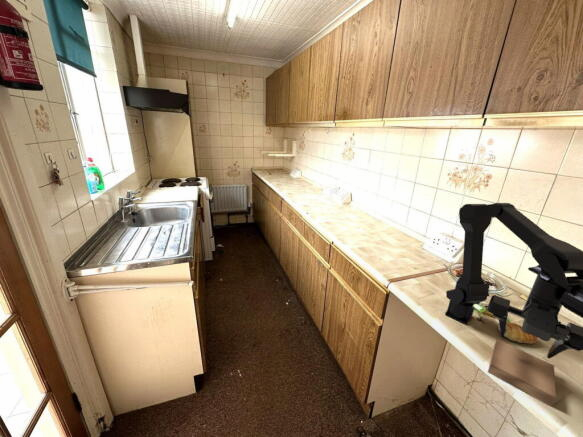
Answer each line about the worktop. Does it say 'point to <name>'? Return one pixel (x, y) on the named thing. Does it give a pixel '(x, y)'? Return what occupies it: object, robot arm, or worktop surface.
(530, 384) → the walnut base
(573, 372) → the worktop surface
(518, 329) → the pastry
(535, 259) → the robot arm
